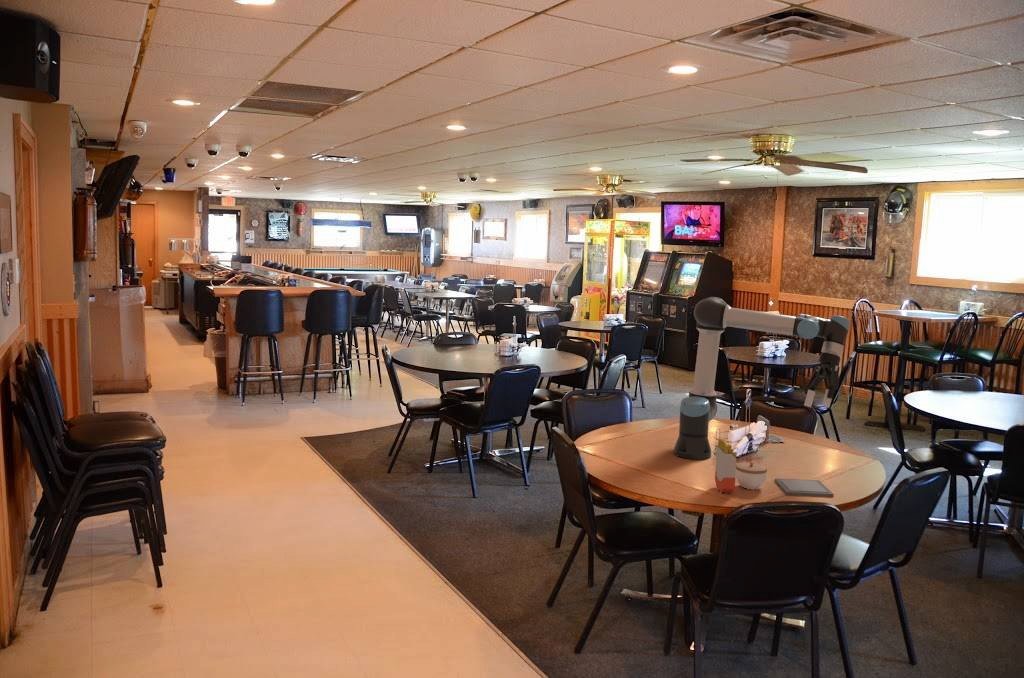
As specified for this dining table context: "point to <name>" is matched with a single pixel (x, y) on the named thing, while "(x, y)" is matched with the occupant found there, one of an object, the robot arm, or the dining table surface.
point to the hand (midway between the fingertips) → (816, 406)
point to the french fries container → (725, 467)
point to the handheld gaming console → (768, 438)
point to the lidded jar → (750, 475)
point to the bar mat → (803, 487)
